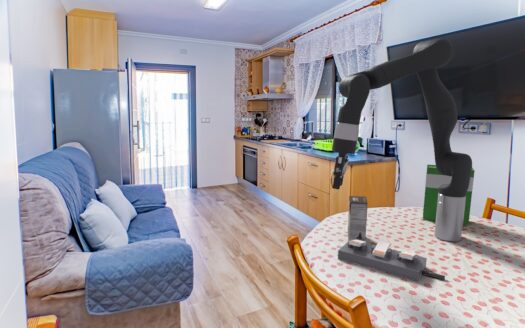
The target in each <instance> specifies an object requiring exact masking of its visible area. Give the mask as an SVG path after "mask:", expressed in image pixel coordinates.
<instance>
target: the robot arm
mask: <svg viewBox="0 0 525 328" xmlns="http://www.w3.org/2000/svg"><path fill="white" fill-rule="evenodd" d="M453 55H454V48H453V45H452V42H450V41H449V40H448V39H445V38H435V39H430V40H429V39H428V40H425V41H421V42H418V43H417V44H416V45H415V47H414V48H413V51H412V53H411V54H409V55H406V56H402V57H401V56H400V57H397V58H393V59H391V60H390V59H389V60H387V61H384V62H382V63H380V64H379V63H378V64H377V65H375V66H372V67H370V68H368V69H367V70H366V69H365V70H363V71H359V72H356V73H355V72H354V74H353V73H352V74H350V75H347V76H345V77H343V79H342V80H341V81H340V82H339V85H338V90H339V94H340V95H341V96H342V97H344V98H346V100H345V103H344V104H343V105H341V106H340V107H339V110H338V113H337V114H338V115H337V120H336V125H335V128H334V129H335V130H334V134H333V138H332V139H333V140H332V145H331V150H332V152H335V153H338V154H337V155H336V157H335V159H334V165H333V166H334V167H333V173H332V175H333V183H332V189H334V190H340V188H341V186H343V182H344V177H345V174H346V171H347V168H348V164H349V155H354V154H356V150H357V145H358V139H359V134H360V133H359V132H360V122H361V117H362V112H363V109H365V105H366V103H367V101H368V97H370V96H369V95H370V91H371V90H377V89H380V88H383V87H385V86H388V85H390V84H392V83H394V82H397V81H399V80H403V79H404V78H407V77H409V76H411V75H414V74H416V75H417V78H418V80H419V83H420V87H421V90H422V94H423V99H424V103H425V109H426V113H427V114H426V115H427V119H428V122H429V127H430V131H431V138H432V144H433V153H434V163H435V164H434V165H436V168H437V170H438V172H439V173H440V174H443V175H446V176H451V177H452V179H451V182H450V183H449V184H444V185H440V186H439V190H438V202H437V212H436V221H435V225H434V237H435V238H437V239H440V240H442V241H445V242H460V241H462V236H463V227H464V225H463V219H464V210H465V200H466V192H467V190H468V188H469V183H470V177H471V171H472V168H473V161H472V157H471V156H470V155H469V154H468V153H464V152H463V153H462V152H457V151H456V152H454V151H453V150H452V148H451V140H450V139H451V135H452V133H453V131H454V130H455V127H456V125H457V123H458V111H457V105H456V102H455V99H454V97H453V95H452V94H451V92H450V91H449V90H448V89H447V88H446V86H445V85H444V83H443V82H442V81H441V79H440V77H439V73H438V68H442V67H444V66H446V65H447V64H448V63H449V62H450V61H451V60H452V58H453Z"/></svg>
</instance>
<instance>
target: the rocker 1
mask: <svg viewBox="0 0 525 328" xmlns="http://www.w3.org/2000/svg"><path fill="white" fill-rule="evenodd" d="M364 243H367V241H366V240H365V241H361V240H357V239H356V240H351V241H349V244H350V245H354V246H358V247H360V246H362V245H363V244H364Z"/></svg>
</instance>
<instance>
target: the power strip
mask: <svg viewBox="0 0 525 328" xmlns="http://www.w3.org/2000/svg"><path fill="white" fill-rule="evenodd" d="M351 240H352V239H350V240H349V241H351ZM349 241H348V240H347V242H346V243H345V244H344V245H342V246H341V247H340V248H339V249H338V250H337V259H338V260H342V261H345V262H348V263H352V264H355V265H358V266H363V267H366V268H370V269H373V270H377V271H380V272H384V273H387V274H391V275H393V276H399V277H401V278H405V279H408V280H412V281H416V282H419V281H420V279H422V278H421V277H422V276H423V275H424V276H427V277H432V278H435V279H438V280H443V281H445V279H446V275H443V274H440V273H439V274H438V273H437V272H436V273H435V272H431V271H427V270H426V267H427V261H428V259H427V257H424V256H420V255H417V254H416V256H415V258H414V259H412V260H410V259H406V258H402V257H399V253H401V252H402V251H401V250H394V249H393V248H389V249H388V251H387V253H386V255H385V257H384V258H383V257H379V256H375V255H373V251H374V249H375V247H376V245H377V244H376V245H375V244H370V243H367V242H366V243H364V244H363V245H362V246H360V247H358V246H354V245H350V244H349Z"/></svg>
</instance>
